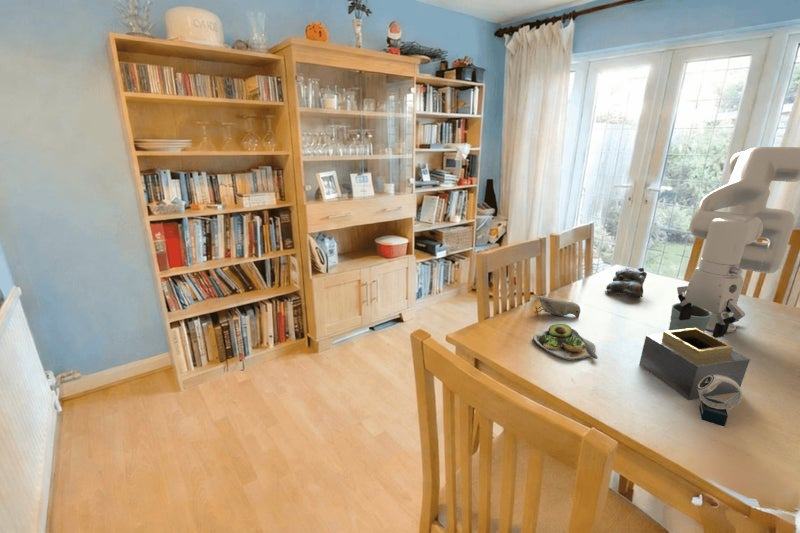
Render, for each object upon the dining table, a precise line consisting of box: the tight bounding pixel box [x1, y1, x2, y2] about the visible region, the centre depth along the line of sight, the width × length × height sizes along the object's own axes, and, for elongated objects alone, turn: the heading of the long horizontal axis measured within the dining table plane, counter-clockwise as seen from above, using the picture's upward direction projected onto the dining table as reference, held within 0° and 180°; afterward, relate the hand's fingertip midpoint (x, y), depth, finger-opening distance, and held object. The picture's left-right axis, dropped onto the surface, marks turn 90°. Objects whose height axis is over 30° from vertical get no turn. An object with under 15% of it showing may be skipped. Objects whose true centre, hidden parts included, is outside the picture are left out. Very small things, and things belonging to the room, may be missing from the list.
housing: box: [638, 328, 751, 401], centre depth 103 cm, size 16×16×12 cm
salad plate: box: [533, 323, 599, 361], centre depth 120 cm, size 19×18×5 cm
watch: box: [697, 374, 743, 428], centre depth 89 cm, size 6×8×11 cm
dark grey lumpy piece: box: [605, 266, 648, 299], centre depth 159 cm, size 15×12×14 cm
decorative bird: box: [535, 295, 581, 318], centre depth 141 cm, size 5×16×8 cm, turn 76°
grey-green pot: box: [667, 302, 712, 332], centre depth 121 cm, size 10×10×12 cm
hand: (700, 327), depth 100 cm, fingers open, 9 cm apart
